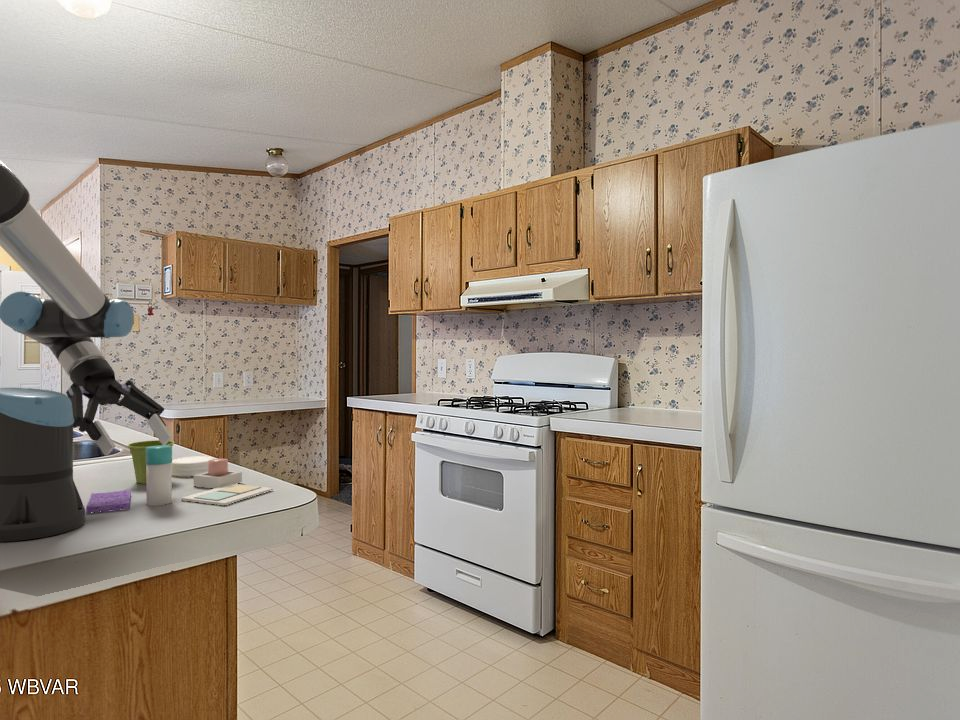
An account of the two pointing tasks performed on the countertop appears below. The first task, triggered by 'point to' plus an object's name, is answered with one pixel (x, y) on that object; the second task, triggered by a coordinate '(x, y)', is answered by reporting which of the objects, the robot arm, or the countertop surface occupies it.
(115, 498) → the sponges
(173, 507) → the countertop surface
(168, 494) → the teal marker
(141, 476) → the plant pot
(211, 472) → the button
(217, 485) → the button housing
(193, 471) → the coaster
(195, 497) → the picture card
